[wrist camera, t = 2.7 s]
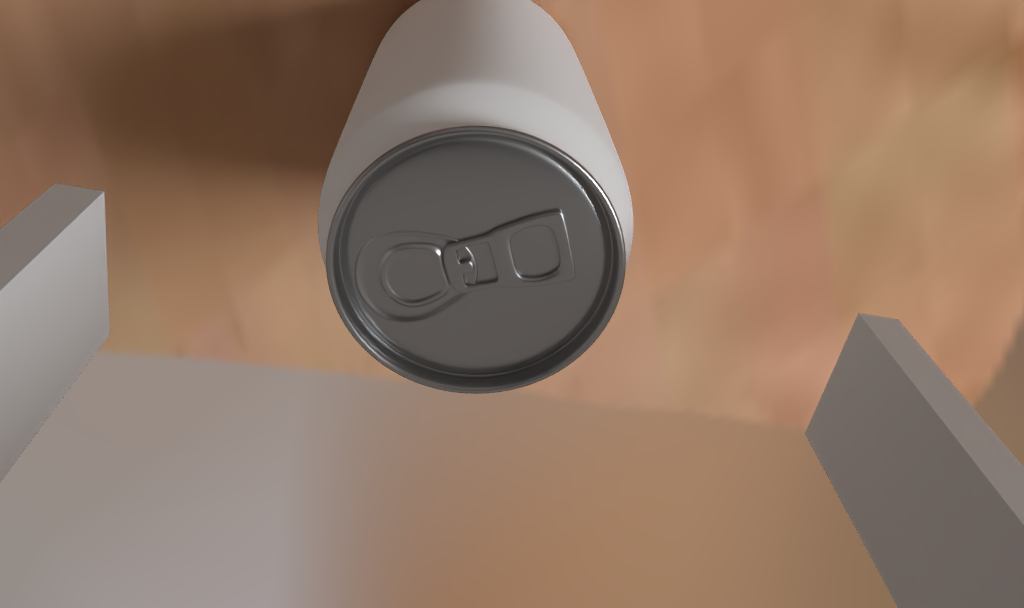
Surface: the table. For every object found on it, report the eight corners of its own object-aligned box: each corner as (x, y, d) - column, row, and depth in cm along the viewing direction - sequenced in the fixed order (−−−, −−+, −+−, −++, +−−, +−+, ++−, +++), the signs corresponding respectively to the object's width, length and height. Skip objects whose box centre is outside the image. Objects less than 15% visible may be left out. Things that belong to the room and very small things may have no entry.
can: (343, 9, 25) (249, 148, 15) (560, -42, 25) (621, 63, 14) (404, 208, 28) (361, 438, 18) (597, 166, 28) (669, 377, 17)
